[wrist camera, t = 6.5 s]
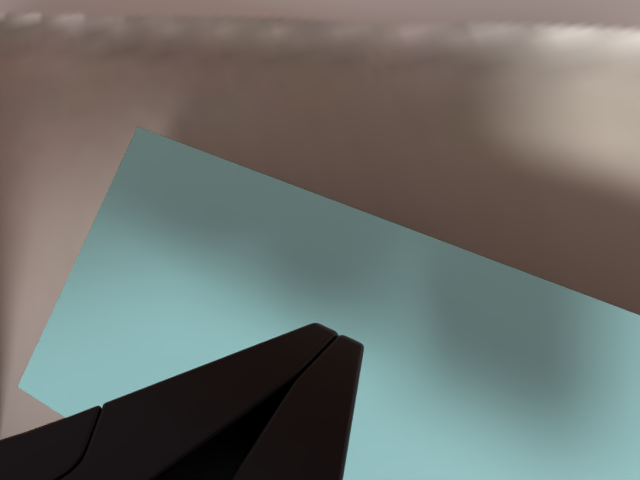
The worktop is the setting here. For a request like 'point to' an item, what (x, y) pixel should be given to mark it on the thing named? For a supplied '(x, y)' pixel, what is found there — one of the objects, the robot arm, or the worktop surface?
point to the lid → (343, 324)
